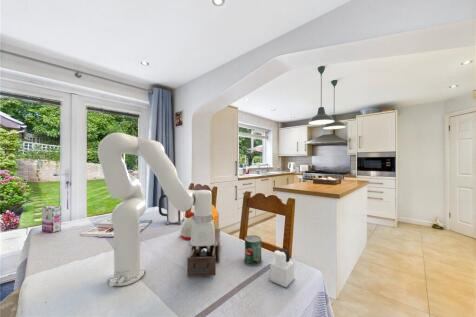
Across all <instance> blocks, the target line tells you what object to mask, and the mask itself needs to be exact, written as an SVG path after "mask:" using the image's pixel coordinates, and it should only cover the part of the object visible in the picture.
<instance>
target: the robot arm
mask: <svg viewBox="0 0 476 317" xmlns="http://www.w3.org/2000/svg"><path fill="white" fill-rule="evenodd" d="M123 155H133V156H137V157H141V158H142V159H143V161H144V162H145V163H146V164H147V166H148V167H149V168H150V170H151V171H152V173H153V175H155V177H156V179H157V180H158V181H157V182H158V183H159V185H160V187H161V189H162V191H163V193H164V195H166V196H167V197H168V199H169V200H170V202H171V203H172V204H173V206H174V207H175V208H176V209H177V210H179V211H183V212H188V211H189V210H190V209H191V208H192V207H194V211H193V212H194V214H195V215H194V216H191V219H194V221H193V224H192V231H191V240H189V242H188V244H187V246H188V247H190V248H191V247H192V248H193V249H194V250H195V251H196V252H197V257H199V256H200V253H201V250H200V246H207V252H206V257H210V251H211V250H212V249H213V248H214V247H215V246H217V245H218V241H217V240H216V238H215V229H214V222H213V220H212V205H213V204H212V203H213V198H212V195H213V194H212V191H211V190H209V189H198V190H197V189H196V190H194V189H186V188H185V187H184V185H183V183H182V182H181V180H180V178H179V176H178V171H177V168H176V166H175V165H174V163H173V162H172V161H171V159H170V158H169V156H168V154H166V151H165V148H164V145H163V144H162V143H161V142H160V141H158V140H154V139H148V138H143V137H138V136H135V135H131V134H127V133H124V132H112V133H109V134H107V135H106V136H104V137H103V138H102V139H101V141H100V142H99V144H98V147H97V157H98V160H99V161H98V162H99V164H100V167H101V171H102V174H103V178H104V181H105V184H106V188H107V192H108V195H109V196H110V197H111V198H112V199H114V200H121V202H120V203H118V204H117V205H116V206H115V208H114V209H113V210H112V213H111V224H112V228H113V273H112V274H111V275H110V277H109V282H108V286H109V287H110V288H112V287H123V286H127V285H131V284H134V283H136V282H137V281H139V280H140V279H142V277H143V276H144V274H145V268H144V267H142V266H141V229H140V228H141V227H140V223H139V222H140V221H139V218H140V217H142V216H143V214H144V213H145V212H146V210H147V202H146V199H145V195H144V191H143V188H142V184H141V182H140V180H139V178H138V177H136V176H135V175H133V174H129V172H128V167H127V163H126V162H125V160H124V158H123ZM167 197H166V198H167Z"/></svg>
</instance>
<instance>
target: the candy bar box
mask: <svg viewBox="0 0 476 317" xmlns="http://www.w3.org/2000/svg"><path fill="white" fill-rule="evenodd" d="M61 218H62V206H60V205H45V206H42V207H41V231H42V232H46V233H52V234H53V233H56V232H60V231H62V229H61V228H62V219H61Z"/></svg>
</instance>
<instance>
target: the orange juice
mask: <svg viewBox="0 0 476 317" xmlns="http://www.w3.org/2000/svg"><path fill="white" fill-rule="evenodd" d="M219 215H220V214H219V211H218V210H217V208H216V207H215V205H214V204H212V220H213V222H214V229H220V216H219Z"/></svg>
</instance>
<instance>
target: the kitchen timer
mask: <svg viewBox="0 0 476 317" xmlns="http://www.w3.org/2000/svg"><path fill="white" fill-rule="evenodd" d="M194 215H195V211H191V212H189V213H188V214H187V215H186V216H187V219H186V220H184V223H183V226H182V227H181V231H180V238H181V239H182V240H185V241H190V240H191V231H192V224H193V221H194V219H191V216H194Z"/></svg>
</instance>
